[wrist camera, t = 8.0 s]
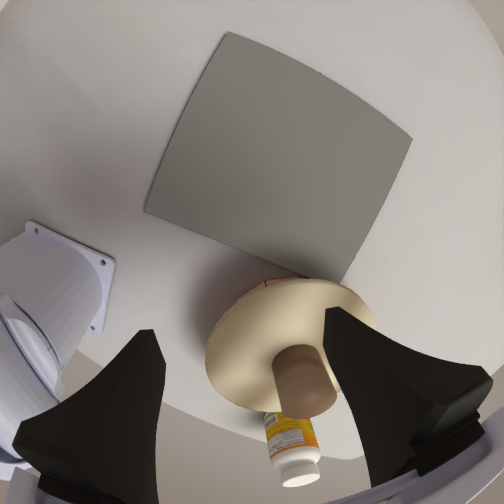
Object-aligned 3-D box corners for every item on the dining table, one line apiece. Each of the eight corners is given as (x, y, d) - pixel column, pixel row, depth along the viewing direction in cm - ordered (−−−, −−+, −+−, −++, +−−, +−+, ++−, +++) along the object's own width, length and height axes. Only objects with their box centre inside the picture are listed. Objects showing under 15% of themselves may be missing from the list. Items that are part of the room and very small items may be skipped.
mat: (145, 210, 18) (143, 211, 18) (228, 33, 14) (228, 31, 13) (334, 285, 22) (336, 288, 21) (409, 138, 18) (412, 138, 17)
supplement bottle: (307, 419, 29) (326, 481, 20) (266, 428, 29) (277, 492, 20) (306, 397, 27) (328, 467, 18) (260, 407, 27) (272, 480, 18)
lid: (182, 385, 19) (178, 434, 15) (255, 247, 16) (268, 287, 11) (313, 412, 23) (326, 450, 18) (400, 310, 19) (432, 346, 14)
